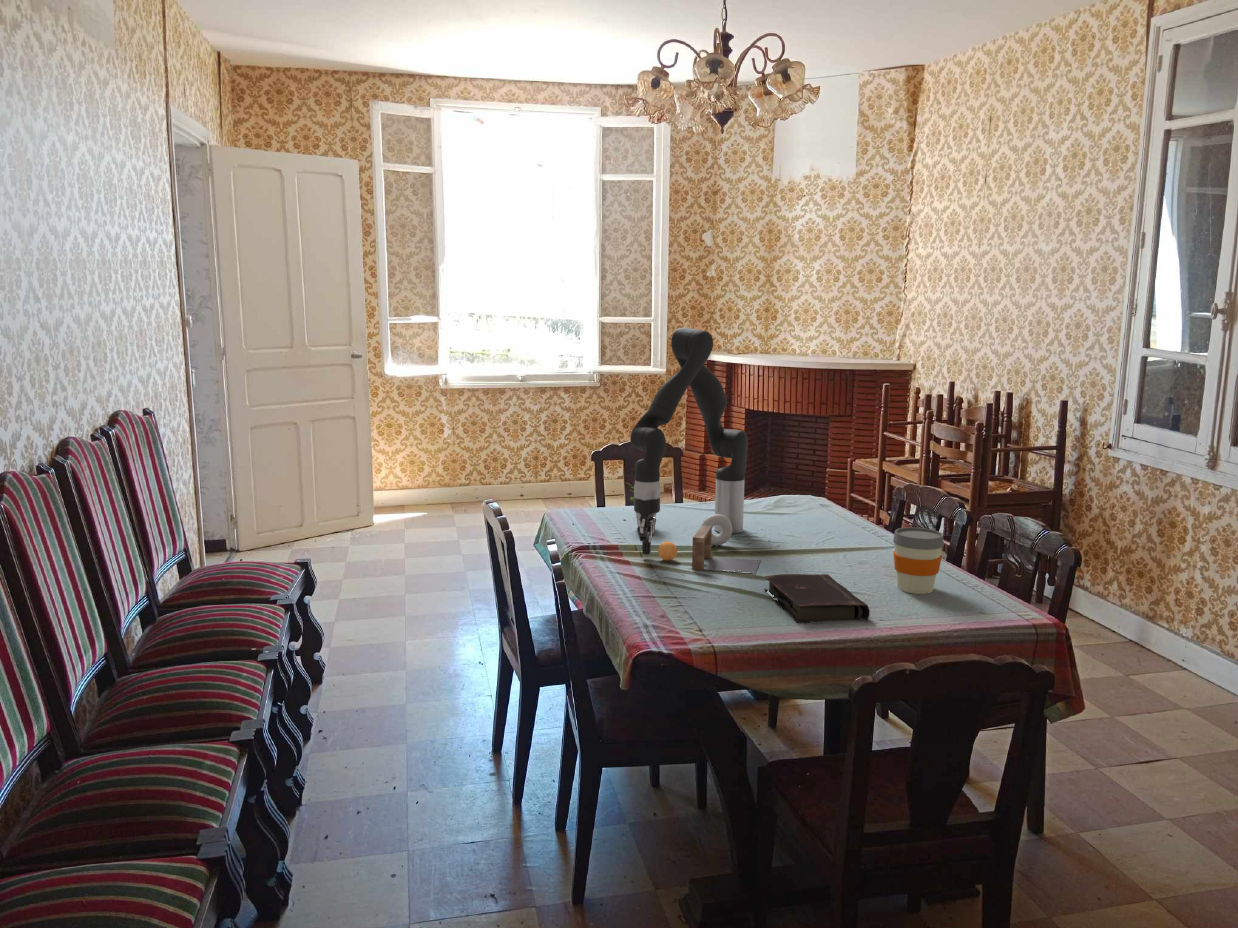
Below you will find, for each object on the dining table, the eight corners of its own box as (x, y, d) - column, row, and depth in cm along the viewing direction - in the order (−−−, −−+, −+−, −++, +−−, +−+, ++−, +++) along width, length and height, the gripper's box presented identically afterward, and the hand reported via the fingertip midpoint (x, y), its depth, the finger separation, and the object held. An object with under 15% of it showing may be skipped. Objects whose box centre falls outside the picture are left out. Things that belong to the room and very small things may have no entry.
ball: (660, 556, 273) (660, 538, 272) (678, 558, 271) (679, 540, 270) (656, 561, 267) (656, 543, 266) (674, 563, 266) (675, 544, 265)
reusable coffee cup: (907, 597, 237) (911, 540, 234) (881, 583, 249) (884, 528, 246) (950, 593, 240) (954, 537, 238) (922, 579, 252) (926, 525, 250)
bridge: (691, 569, 260) (692, 537, 259) (700, 555, 274) (701, 525, 272) (702, 570, 259) (703, 538, 258) (710, 556, 273) (711, 526, 272)
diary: (829, 591, 245) (830, 572, 244) (869, 623, 220) (870, 603, 219) (760, 592, 242) (761, 574, 241) (793, 625, 217) (794, 605, 216)
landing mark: (712, 557, 273) (712, 556, 273) (760, 560, 269) (760, 560, 269) (704, 570, 260) (704, 569, 260) (755, 574, 256) (755, 573, 256)
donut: (701, 547, 283) (702, 515, 281) (698, 544, 286) (699, 513, 285) (733, 546, 285) (734, 514, 283) (730, 543, 288) (731, 512, 286)
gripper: (640, 490, 275) (639, 546, 278) (628, 499, 263) (628, 558, 266) (665, 491, 273) (664, 548, 276) (654, 501, 261) (653, 560, 264)
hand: (646, 553), depth 271 cm, fingers closed
